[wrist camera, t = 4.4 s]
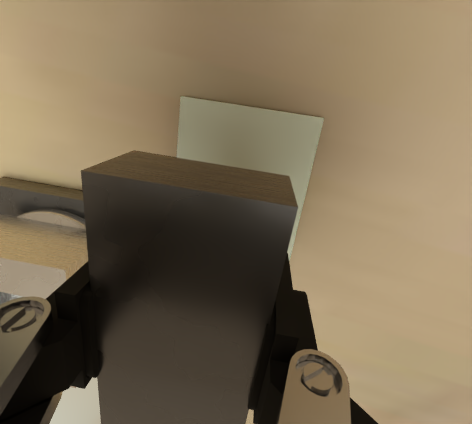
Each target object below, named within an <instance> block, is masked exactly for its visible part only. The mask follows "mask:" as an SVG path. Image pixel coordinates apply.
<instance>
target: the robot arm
mask: <svg viewBox="0 0 472 424" xmlns="http://www.w3.org/2000/svg"><path fill="white" fill-rule="evenodd" d="M98 375H99V362H98V349H97V335H96V322H95V309H94V295H93V291H91V290H90V277H89V264H88V261H87V262H86V263H85V264H84V265H83V266H82V267H81V268H80V269H79V270H77V271H76V272H75V273H74V274H73V275H72V276H71V277H70V278H68V279H67V280H66V281H65V282H64V283H63V284H62V285H61V286H60V287H58V288H57V289H56V290H55V291H54V292H53V293H52V294H51V295H50V296H48V297H47V298H46V299H43V298H41V297H34V296H30V297H21V298H17V299H13V300H10V301H7V302H5V303H2V304H1V305H0V424H49V423H50V421H51V418H52V416H53V414H54V412H55V410H56V407H57V405H58V403H59V401H60V399H61V395H62V392H63V391H64V390H66V389H68V388H69V387H70V386H74V387H79V388H85V387H86V386H87V384H88V383H89V381H90V380H91V378H92V377H94V378H96V377H97V376H98ZM248 409H251V410H254V418H253V423H254V424H378V423H377V422H376V421H375V420H374V419H373V418H372V417H370V416H369V415H368V414H367V413H366V412H365V411H364V410H363V409H362V408H361V407H360V406H359V405H358V404H356V403H355V402H354V401H353V400H352V399H351V398H350V390H349V382H348V377H347V375H346V374H345V372H344V370H343V368H342V367H341V366H340V365H339V364H338V363H337V361H335V360H334V359H333V358H331V357H330V356H329V355H327V354H325V353H323V352H321V351H318V349H317V344H316V339H315V334H314V329H313V324H312V319H311V314H310V309H309V304H308V299H307V295H306V293H305V292H303V291H297V290H293V287H292V280H291V272H290V264H289V257H288V253H287V255H286V259H285V263H284V267H283V271H282V275H281V279H280V284H279V288H278V292H277V296H276V300H275V304H274V308H273V312H272V316H271V320H270V324H267V325H266V329H265V333H264V338H263V342H262V346H261V350H260V354H259V358H258V363H257V367H256V371H255V375H254V379H253V384H252V388H251V392H250V396H249V400H248Z"/></svg>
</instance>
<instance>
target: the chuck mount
mask: <svg viewBox="0 0 472 424" xmlns="http://www.w3.org/2000/svg"><path fill="white" fill-rule="evenodd" d="M38 209H55V210H61V211H65V212H69V213H71V214H74V215H77V216H79V217H81V218H83V219H85V214H84V201H83V191H81V190H75V189H70V188H64V187H58V186H52V185H47V184H41V183H35V182H30V181H24V180H18V179H12V178H7V177H2V178H0V214H4V215H9V216H15V217H17V216H19V215H22V214H24V213H26V212H29V211H33V210H38Z"/></svg>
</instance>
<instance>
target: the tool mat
mask: <svg viewBox="0 0 472 424" xmlns="http://www.w3.org/2000/svg"><path fill="white" fill-rule="evenodd" d="M323 121H324V118H321V117H315V116H308V115H302V114H295V113H289V112H282V111H275V110H269V109H262V108H256V107H249V106H243V105H236V104H230V103H223V102H217V101H210V100H204V99H197V98H191V97H184V96H181V98H180V113H179V128H178V143H177V158H183V159H189V160H195V161H201V162H207V163H214V164H220V165H226V166H232V167H238V168H244V169H250V170H256V171H262V172H269V173H275V174H281V175H287V176H290V180H291V183H292V187H293V191H294V194H295V198H296V201H297V205H298V210H297V214H296V218H295V222H294V226H293V230H292V234H291V239H290V243H289V247H288V251H287V253H288V257H289V261H290V257H291V253H292V249H293V245H294V241H295V236H296V232H297V228H298V224H299V220H300V216H301V212H302V208H303V203H304V199H305V195H306V191H307V187H308V183H309V179H310V175H311V171H312V166H313V162H314V158H315V154H316V150H317V146H318V142H319V138H320V133H321V129H322V125H323Z"/></svg>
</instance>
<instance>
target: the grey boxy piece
mask: <svg viewBox="0 0 472 424" xmlns="http://www.w3.org/2000/svg"><path fill="white" fill-rule="evenodd" d="M87 261H88V252H87V239H86V227H85V219H83V218H81V217H79V216H77V215H74V214H71V213H69V212H65V211H61V210H55V209H38V210H33V211H29V212H26V213H24V214H22V215H19V216H17V217H15V216H9V215H4V214H0V305H1V304H2V303H5V302H7V301H10V300H13V299H17V298H21V297H30V296H34V297H41V298H43V299H46V298H47V297H48V296H50V295H51V294H52V293H53V292H54V291H55V290H56V289H57V288H58V287H60V286H61V285H62V284H63V283H64V282H65V281H66V280H67V279H68V278H70V277H71V276H72V275H73V274H74V273H75V272H76V271H77V270H79V269H80V268H81V267H82V266H83V265H84V264H85V263H86V262H87ZM70 387H73V388H76V387H74V386H70Z"/></svg>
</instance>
